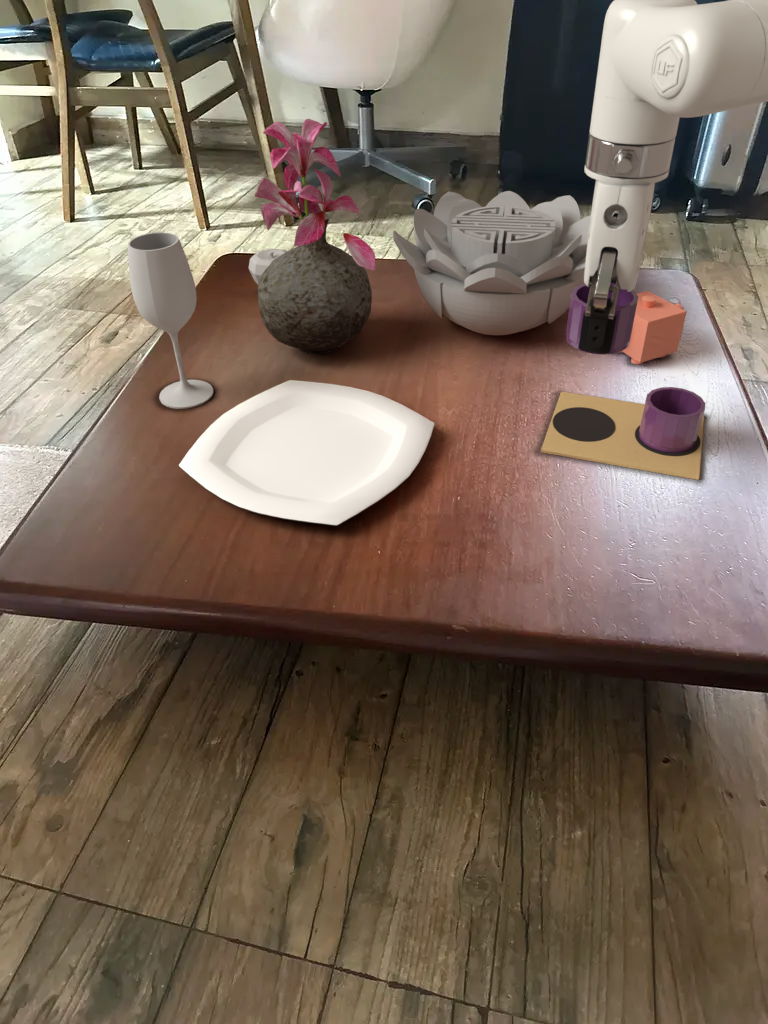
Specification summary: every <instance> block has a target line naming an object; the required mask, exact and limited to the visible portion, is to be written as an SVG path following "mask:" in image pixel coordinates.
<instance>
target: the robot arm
mask: <svg viewBox="0 0 768 1024" xmlns="http://www.w3.org/2000/svg"><path fill="white" fill-rule="evenodd" d="M604 16H605V17H604V22H603V27H602V28H603V29H602V35H601V43H600V49H599V50H600V51H599V56H598V57H599V58H598V65H597V73H596V79H595V86H594V87H595V88H594V94H593V95H594V96H593V103H592V110H591V116H590V117H591V118H590V126H589V133H588V140H587V145H586V146H587V147H586V154H585V163H584V168H583V169H584V174H586V176H588V177H589V178H591V179H593V180H595V182H594V183H595V184H594V190H593V196H592V203H591V211H590V212H591V213H590V215H591V218H590V225H589V233H588V241H587V251H586V261H585V272H584V284H585V285H586V286H587V287H589V286H590V290H589V296H588V301H587V307H586V312H584V314H583V320H582V327H581V333H580V340H579V346H578V348H579V350H578V351H580V350H581V351H580V352H583V351H588V352H595V353H603V354H602V355H609V354H608V353H610V351H611V346H612V340H613V335H614V329H615V324H616V318H617V316H615V315H614V314H615V309H616V303H617V298H618V293H619V290H620V288H621V289H626V290H627V292H630V291H632V290H635V288H636V286H637V285H636V284H637V281H638V277H639V273H640V269H641V263H642V258H643V254H644V248H645V243H646V238H647V234H648V229H649V223H650V217H651V212H652V205H653V199H654V193H655V185H656V183H659V182H662V181H663V180H666V179H667V178H668V177H669V173H670V167H671V163H672V158H673V153H674V147H675V142H676V137H677V134H678V133H677V132H678V128H679V124H680V119H681V118H683V119H684V118H686V119H687V118H688V119H689V118H691V119H692V118H698V117H703V116H707V115H713V114H717V113H722V112H726V111H730V110H734V109H738V108H743V107H748V106H752V105H758V104H762V103H767V102H768V0H723V1H716V2H708V3H701V4H700V3H699V4H698V2H697V1H696V0H613V1H612V2H611V3H610V4H609V6H608V9H606V13H605V15H604ZM595 282H597V283H595ZM611 283H616V285H610V284H611ZM609 292H613V294H612V299H611V300H610V299H609V298H608V296H609Z"/></svg>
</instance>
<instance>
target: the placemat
mask: <svg viewBox="0 0 768 1024" xmlns="http://www.w3.org/2000/svg"><path fill="white" fill-rule="evenodd" d="M644 405H645V403H640V402H639V403H638V402H632V401H626V400H619V399H614V398H613V399H611V398H607V397H600V396H593V395H587V394H580V393H573V392H567V391H560V393H559V396H558V398H557V402H556V405H555V409H554V411H553V413H552V417H551V420H550V421H549V422H550V423H549V425H548V428H547V432H546V434H545V437H544V440H543V443H542V445H541V448H540V453H541V454H549V455H555V456H560V457H565V458H570V459H571V458H572V459H578V460H583V461H588V462H594V463H599V464H604V465H611V466H616V467H623V468H627V469H628V468H629V469H633V470H639V471H645V472H651V473H656V474H661V475H662V474H663V475H668V476H673V477H679V478H685V479H690V480H697V481H699V480H700V474H701V463H702V462H701V460H702V449H703V448H702V447H703V437H704V436H703V435H704V422H705V414H704V415H703V418H702V422H701V425H700V429H699V432H698V436H697V440H696V442H695V444H694V446H693V447H692V448H690V449H689V450H686V451H683V452H676V453H671V452H663V451H659V450H656V449H653V448H651V447H649V446H647V445H646V444H645V443H643V442H642V440H641V439H640V437H639V429H640V424H641V419H642V415H643V410H644Z"/></svg>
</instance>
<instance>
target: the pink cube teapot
mask: <svg viewBox="0 0 768 1024" xmlns="http://www.w3.org/2000/svg"><path fill="white" fill-rule="evenodd" d="M636 294H637V295H638V302H637V307H636V313H635V318H634V323H633V328H632V333H631V338H630V343H629V345H628V347H627V348H626V349H624V350H623V351H620V352H619V353H624V354H625V355H626V356H628V357H630V358H631V359H630V362H631V364H633V365H642V364H643V363H644V362H648V361H651V360H655V359H659V358H665V357H666V356H667V355H671V354H674V353H677V352H678V350H679V346H680V341H681V338H682V332H683V331H684V330H683V329H684V326H685V321H686V317H687V311H686V310H685V309H684V307H683V306H682V305H681V304H680V303H678V302H675V303H674V304H673V303H672V302H670V301H668V300H666V299H664V298H662V297H660V296H659V295H657V294H655V293H653V292H651V291H650V290H644V291H641V292H636Z"/></svg>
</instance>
